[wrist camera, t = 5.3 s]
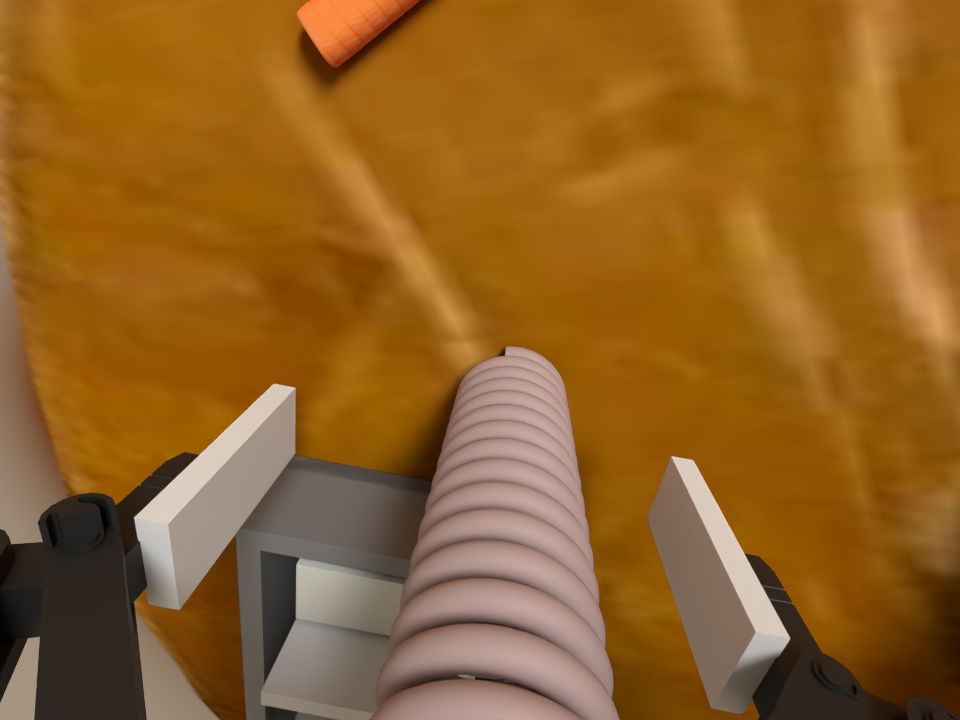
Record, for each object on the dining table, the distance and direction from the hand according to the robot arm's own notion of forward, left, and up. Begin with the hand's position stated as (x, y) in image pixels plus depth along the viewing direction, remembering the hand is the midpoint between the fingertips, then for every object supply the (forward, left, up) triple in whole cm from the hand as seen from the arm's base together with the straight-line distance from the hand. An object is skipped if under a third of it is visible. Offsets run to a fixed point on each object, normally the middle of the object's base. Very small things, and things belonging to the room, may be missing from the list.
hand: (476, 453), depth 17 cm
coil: (0, +1, -5) cm, 5 cm away
